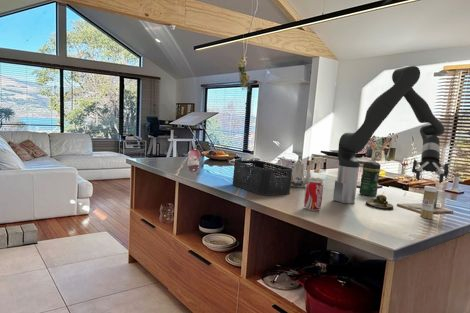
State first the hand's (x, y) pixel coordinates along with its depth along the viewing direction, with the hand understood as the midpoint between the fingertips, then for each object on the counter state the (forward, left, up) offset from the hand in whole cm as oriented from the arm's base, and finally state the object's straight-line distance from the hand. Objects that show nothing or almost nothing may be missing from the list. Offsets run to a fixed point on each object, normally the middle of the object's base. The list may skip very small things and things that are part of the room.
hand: (429, 180), depth 146 cm
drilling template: (+7, +6, -15) cm, 17 cm away
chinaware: (-28, +60, -15) cm, 68 cm away
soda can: (-54, +10, -15) cm, 57 cm away
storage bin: (-59, +49, -15) cm, 78 cm away
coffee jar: (+1, +36, -15) cm, 39 cm away
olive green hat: (-15, +12, -15) cm, 24 cm away
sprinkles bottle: (-7, -6, -15) cm, 18 cm away
